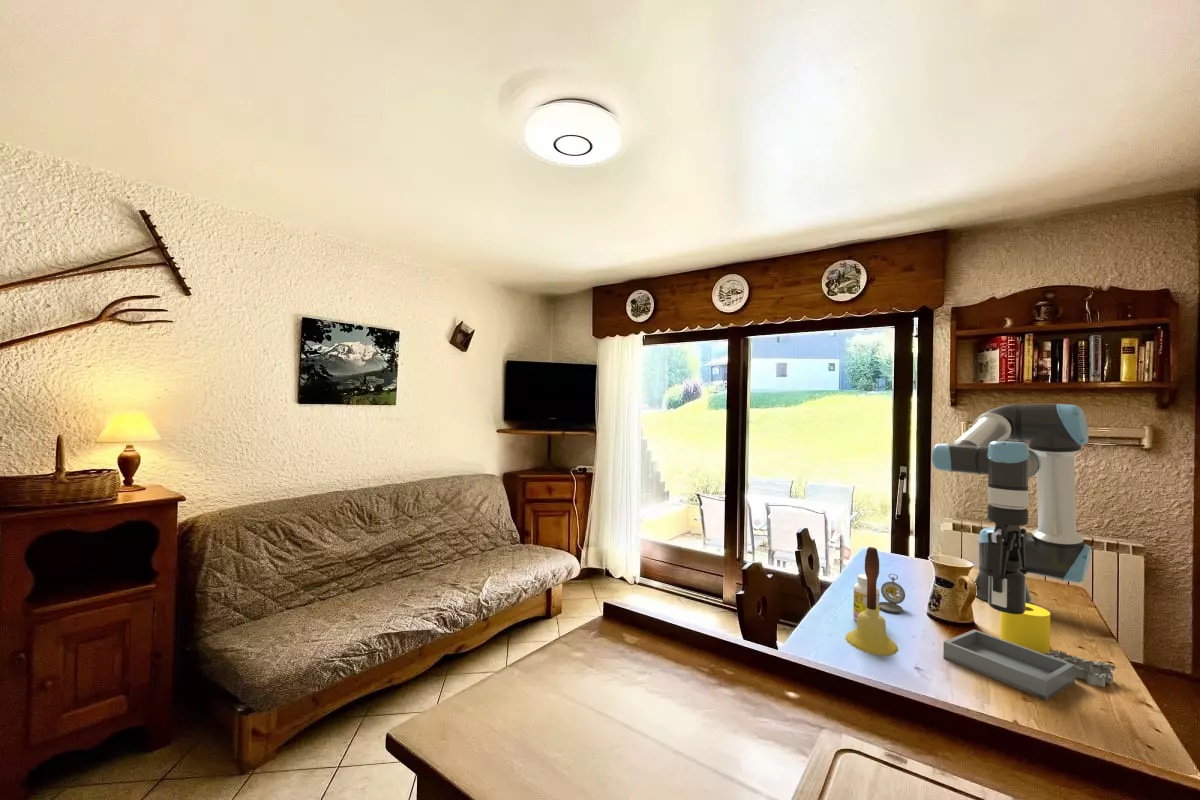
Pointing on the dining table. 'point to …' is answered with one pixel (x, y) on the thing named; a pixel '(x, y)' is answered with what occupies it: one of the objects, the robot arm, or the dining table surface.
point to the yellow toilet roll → (1027, 628)
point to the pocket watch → (892, 602)
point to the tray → (1010, 663)
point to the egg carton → (1088, 668)
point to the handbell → (871, 616)
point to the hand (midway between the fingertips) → (1006, 602)
